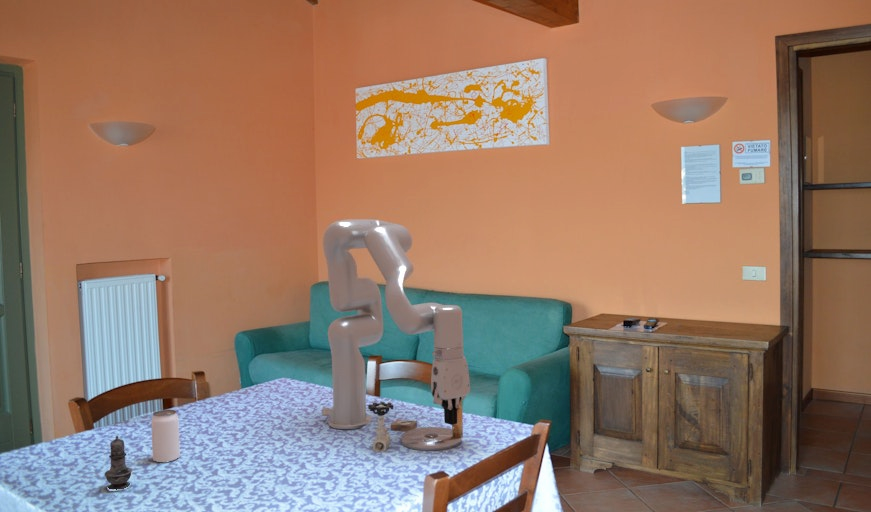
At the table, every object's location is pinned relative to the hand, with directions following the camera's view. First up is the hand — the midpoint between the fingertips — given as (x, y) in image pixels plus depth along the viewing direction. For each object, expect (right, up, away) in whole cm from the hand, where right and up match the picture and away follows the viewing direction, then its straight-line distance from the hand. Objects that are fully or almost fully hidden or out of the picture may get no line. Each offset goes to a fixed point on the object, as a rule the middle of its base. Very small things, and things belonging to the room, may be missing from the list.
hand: (450, 423), depth 186 cm
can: (-73, -9, -3) cm, 73 cm away
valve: (-18, -7, 0) cm, 19 cm away
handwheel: (-5, -6, +5) cm, 9 cm away
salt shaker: (-76, -10, -22) cm, 80 cm away
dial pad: (-13, -6, +17) cm, 22 cm away
